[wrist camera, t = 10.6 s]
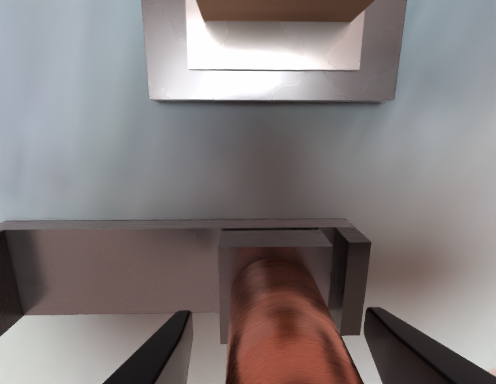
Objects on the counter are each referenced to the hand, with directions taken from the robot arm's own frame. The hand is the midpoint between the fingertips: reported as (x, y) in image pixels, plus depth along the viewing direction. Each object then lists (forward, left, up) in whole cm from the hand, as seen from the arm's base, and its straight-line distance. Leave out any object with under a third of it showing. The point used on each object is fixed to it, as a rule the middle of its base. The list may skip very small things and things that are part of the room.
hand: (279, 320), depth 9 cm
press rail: (+4, 0, -4) cm, 6 cm away
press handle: (0, 0, -3) cm, 3 cm away
